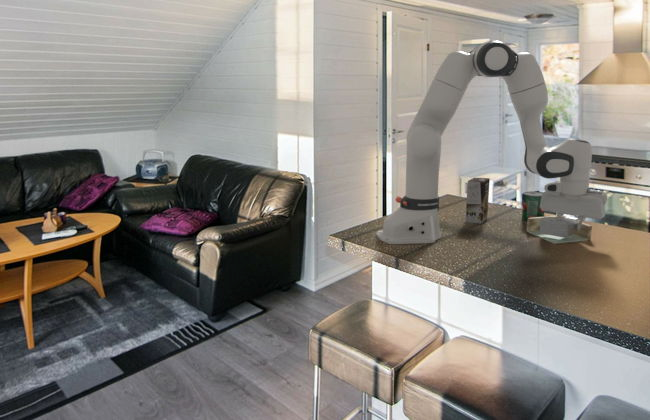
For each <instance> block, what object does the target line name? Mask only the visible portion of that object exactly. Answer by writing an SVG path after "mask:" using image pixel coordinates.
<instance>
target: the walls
mask: <svg viewBox="0 0 650 420" xmlns="http://www.w3.org/2000/svg"><path fill="white" fill-rule="evenodd" d="M544 217H549V218H555V219H558V217H557V215H548V216H545V215H544ZM544 217H533V218H528V220H527V223H526V232H527V233H529V231H538V230H540V220H541V218H544ZM562 217H563V219H564V218H566V217H567V216H565V215H563V216H562ZM579 221H580V220H578V223H579ZM592 229H593V225H591V224H589V223H585V222H584V221H583V222H582V224H581V228H580V229H577V233H575V235H578V236H580V237H583V238H585V239H588V240H587V241H591V237H592Z"/></svg>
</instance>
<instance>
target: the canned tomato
mask: <svg viewBox="0 0 650 420" xmlns="http://www.w3.org/2000/svg"><path fill="white" fill-rule="evenodd" d="M543 193H544V192H542V191H525V192H523V196H522V197H523V199H522V211H521V212H522V214H521V222H522V223H524V224H527V220H528V218H533V217H545V212H546V211H542V210H541V208H540V202H541V197H542V194H543Z"/></svg>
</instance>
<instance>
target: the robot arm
mask: <svg viewBox="0 0 650 420" xmlns="http://www.w3.org/2000/svg"><path fill="white" fill-rule="evenodd" d="M476 76H477V77H484V78H497V77H500V78H502V79H503V80H504V82H505V84H506V86H507V90H508V94H509V96H510V97H509V98H510V100H511V102H512V106H513V108H514V110H515V112H516V115H517V118H518V120H519V124H520V128H521V131H522V132H521V133H522V136H523V141H524V146H525V151H524V157H523V161H524V165H525V168H526V169H527V171H529V172H530V173H532V174H534V175H535V174H536V175H537V176H539V177H541V178H543V179H557V178H559V180H557V181H553V182H550V183H547V184H545V185H544V187H543V190H544V192H542V193H543V194H542V197H541V202H540V208H541V210H542V211H545V212H548V213H554V214H556V216H557V217H558V219H561V220H562V219H563V217H562V216H565V215H567V216H568V215H569V216H572V217H578V221H579V223H576V224H575V229H580V228H581V224H582V222H583V223H584V222H585V220H586V218H588V219H593V220H602V219H603V218H605V216H606V204H607V202H608V195H607V194H606V193H605V192H604V191H603V190H595V189H589V188H590V170H591V168H592V158H593V151H592V150H593V149H592V144H591V143H590V142H589V141H587V140H584V139H579V138H576V137H575V138H574V137H572V138H571V137H568V138H566V139H565V140H564V141H562V142H560V143H559V144H555V145H554V146H551V147H550V146H549V145H548V143H546V140H545V135H544V131H543V127H542V124H541V115H542V113H543V111H544V110H545V109H546V107H547V105H548V102H549V95H548V89H547V84H546V81H545V77H544V75H543V72H542V69H541V67H540V65H539V63H538V61H537V59H536V57H535V55H533V54H532V53H530V52H519V53H517V52H515V51H514V50H513V48H511V47H510V46H509V45H508V44H506V43H505V42H502V41H501V40H488V41H485V42H482V43H480V45H477V46H476V47H475V48H473V49H472V50H471V51H469V52H465V51H462V50H455V51H451V52H450V53H448V54H447V56H446V57H445V58H444V60H443V62H442V63H441V65H440V67H439V68H438V69H437V71H436V73H435V76H434V77H433V79H432V82H431V83H430V86H429V87H428V90H427V92H426V94H425V96H424V99H423V100H422V103H421V105H420V107H419V109H418V110H417V113H416V114H415V117H414V118H413V121H412V122H411V124H410V127H409V129H408V130H407V133H406V138H405V139H406V164H405V165H406V166H405V195H404V196H403V197H400V196H396V197H395V199H394V200H395V201H396V203H399V205H400V206H399V207H398V208H396V209H395V210H394V211H393V212H392V213H390V214H388V216H386V217H385V218H384V220H383V225H382V229H380V230H378V231H376V235H375V236H376V238H377V239H378V240H380V241H381V242H383V243H386V244H389V245H404V244H405V245H407V244H434V243H435V242H436V241H437V240H439V239H441V237H442V233H441V228H440V222H439V211H440V196H439V175H440V165H441V154H442V152H441V151H442V136H443V134H444V132H445V130H446V129H447V127H448V125H449V123H450V121H451V120H452V118H453V117H454V115H455V114H456V111H457V109H458V108H459V105H460V103H461V102H462V99H463V97H464V95H465V92H466V91H467V89H468V86H469V84H470V83H471V81H472V80H474V78H475V77H476Z"/></svg>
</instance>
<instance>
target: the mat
mask: <svg viewBox="0 0 650 420" xmlns="http://www.w3.org/2000/svg"><path fill="white" fill-rule="evenodd" d="M528 233H529V234H531V235H534V236H535V237H537V238H540V239H542V240H545V241H546V242H549V243H552V244H553V245H554V244H555V245H556V244H565V243H573V242H574V243H576V242H586V241H587V242H588V241H589V240H588V239H585V238H583V237H580V236H578V235H575V234H573V235H571V236H570V237H568V238H563V237H558V236H552V235H547V234H542V233H540V230H538V231H529V232H528Z"/></svg>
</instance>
